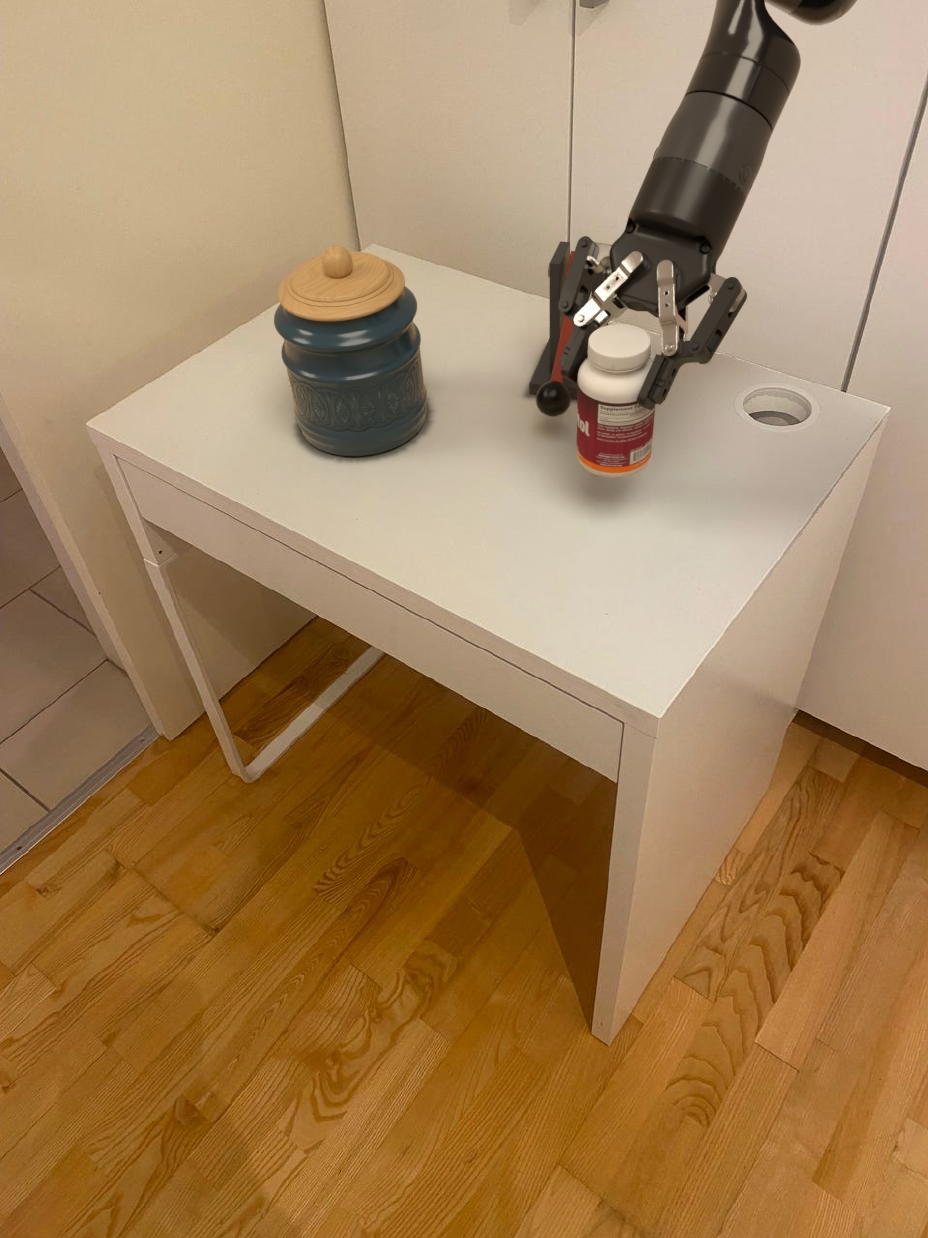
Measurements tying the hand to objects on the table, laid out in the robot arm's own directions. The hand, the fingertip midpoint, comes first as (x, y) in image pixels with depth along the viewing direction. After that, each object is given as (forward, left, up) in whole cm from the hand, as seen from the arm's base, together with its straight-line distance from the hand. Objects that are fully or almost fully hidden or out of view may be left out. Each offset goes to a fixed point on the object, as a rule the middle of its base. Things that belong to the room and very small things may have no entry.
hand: (605, 391), depth 73 cm
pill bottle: (-1, -2, -8) cm, 8 cm away
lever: (+6, -17, -6) cm, 19 cm away
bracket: (+6, -21, -13) cm, 26 cm away
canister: (+25, -9, -13) cm, 30 cm away
